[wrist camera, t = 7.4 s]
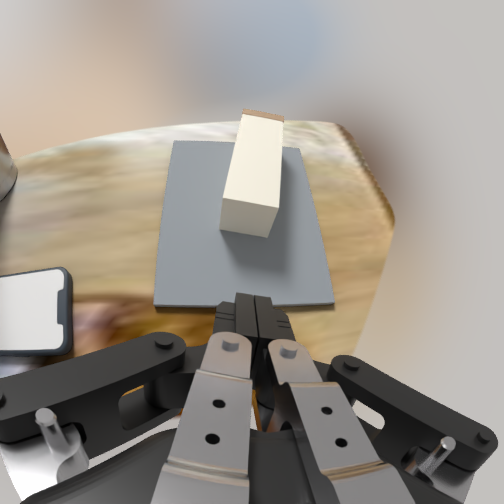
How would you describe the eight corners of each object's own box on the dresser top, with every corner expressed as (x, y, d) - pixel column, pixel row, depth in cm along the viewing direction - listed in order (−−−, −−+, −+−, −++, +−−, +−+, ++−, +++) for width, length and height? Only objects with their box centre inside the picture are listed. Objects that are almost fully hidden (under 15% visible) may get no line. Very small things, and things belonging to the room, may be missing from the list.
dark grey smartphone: (-31, 356, 17) (75, 356, 21) (-39, 352, 16) (68, 353, 20) (-26, 285, 21) (74, 270, 25) (-33, 279, 20) (68, 263, 24)
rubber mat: (154, 306, 25) (153, 304, 24) (174, 144, 35) (173, 140, 35) (332, 304, 28) (334, 302, 27) (298, 151, 38) (299, 148, 38)
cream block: (279, 207, 25) (284, 116, 33) (222, 197, 25) (243, 108, 32) (267, 238, 30) (275, 146, 37) (218, 229, 29) (238, 139, 37)
